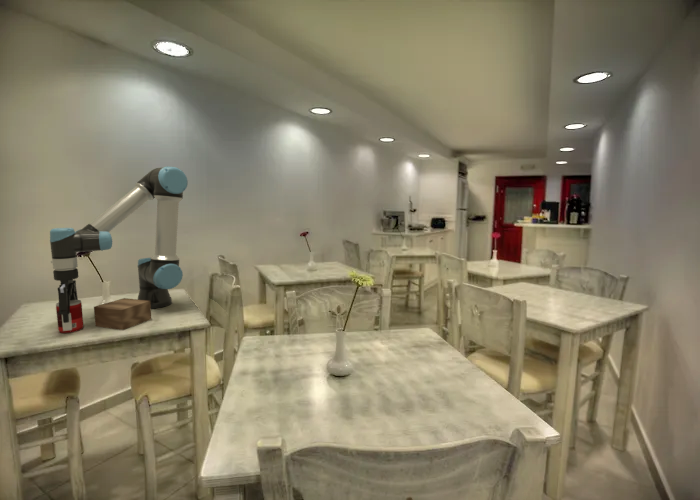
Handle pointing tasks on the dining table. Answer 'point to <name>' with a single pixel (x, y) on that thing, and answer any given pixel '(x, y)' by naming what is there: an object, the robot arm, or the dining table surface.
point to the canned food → (72, 316)
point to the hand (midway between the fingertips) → (71, 326)
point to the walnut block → (122, 313)
